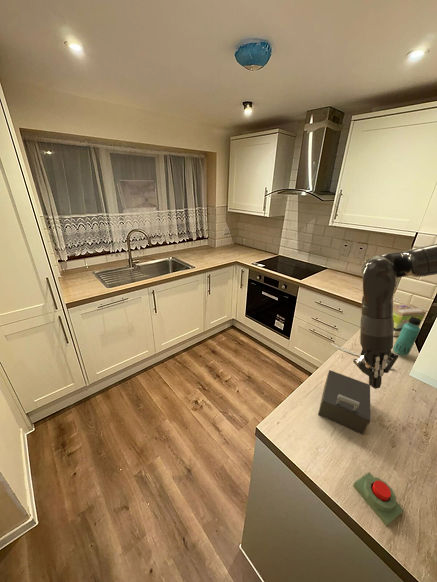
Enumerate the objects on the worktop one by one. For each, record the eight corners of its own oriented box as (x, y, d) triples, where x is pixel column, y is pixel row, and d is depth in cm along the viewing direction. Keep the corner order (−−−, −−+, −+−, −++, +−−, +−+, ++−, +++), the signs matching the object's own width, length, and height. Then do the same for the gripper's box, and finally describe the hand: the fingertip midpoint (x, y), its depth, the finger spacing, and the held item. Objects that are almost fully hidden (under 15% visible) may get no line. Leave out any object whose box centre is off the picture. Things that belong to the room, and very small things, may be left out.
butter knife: (393, 370, 102) (394, 366, 104) (329, 344, 117) (331, 341, 119) (393, 371, 102) (394, 367, 104) (329, 345, 118) (331, 342, 120)
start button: (377, 481, 61) (380, 477, 60) (391, 496, 58) (394, 493, 57) (368, 488, 60) (370, 484, 59) (382, 504, 57) (385, 500, 56)
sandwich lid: (368, 424, 72) (374, 413, 70) (321, 403, 78) (325, 392, 76) (368, 387, 85) (373, 377, 83) (328, 372, 92) (331, 362, 89)
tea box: (393, 337, 126) (403, 313, 120) (378, 326, 135) (387, 304, 128) (416, 334, 129) (427, 311, 123) (399, 324, 138) (409, 302, 131)
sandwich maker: (362, 435, 76) (368, 422, 73) (318, 414, 82) (322, 402, 79) (363, 400, 88) (368, 387, 85) (324, 384, 94) (328, 372, 92)
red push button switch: (368, 475, 65) (372, 467, 64) (402, 512, 58) (407, 505, 56) (352, 486, 63) (355, 478, 61) (385, 527, 55) (390, 520, 54)
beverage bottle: (389, 353, 113) (405, 318, 105) (393, 347, 118) (408, 313, 109) (406, 360, 109) (423, 324, 101) (409, 354, 113) (426, 319, 105)
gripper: (366, 339, 59) (365, 400, 62) (410, 330, 61) (407, 389, 65) (345, 329, 66) (345, 384, 70) (384, 322, 69) (383, 375, 72)
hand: (375, 386), depth 67 cm, fingers closed
